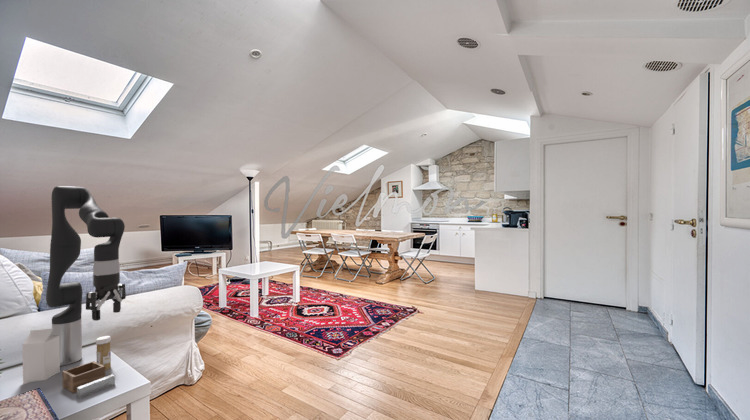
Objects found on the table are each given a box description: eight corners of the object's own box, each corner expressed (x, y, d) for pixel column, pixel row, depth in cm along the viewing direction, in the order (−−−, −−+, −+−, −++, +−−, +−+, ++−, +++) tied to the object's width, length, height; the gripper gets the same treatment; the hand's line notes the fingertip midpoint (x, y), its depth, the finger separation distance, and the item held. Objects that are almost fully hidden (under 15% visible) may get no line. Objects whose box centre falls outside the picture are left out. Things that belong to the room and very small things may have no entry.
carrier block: (62, 386, 117) (62, 371, 117) (93, 375, 125) (93, 361, 125) (73, 393, 113) (73, 377, 113) (105, 381, 120) (105, 366, 120)
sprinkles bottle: (110, 372, 130) (110, 338, 130) (95, 375, 127) (94, 340, 127) (111, 367, 134) (111, 334, 134) (97, 370, 131) (96, 336, 131)
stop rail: (76, 397, 110) (76, 387, 110) (112, 383, 119) (112, 374, 119) (79, 399, 109) (79, 389, 109) (114, 385, 118) (114, 375, 118)
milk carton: (45, 383, 122) (44, 332, 122) (22, 385, 121) (22, 333, 121) (60, 373, 129) (59, 325, 129) (39, 375, 128) (38, 326, 128)
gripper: (113, 268, 128) (113, 309, 128) (78, 276, 113) (78, 322, 114) (131, 268, 127) (132, 310, 127) (99, 276, 113) (99, 323, 113)
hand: (106, 316), depth 121 cm, fingers open, 8 cm apart
